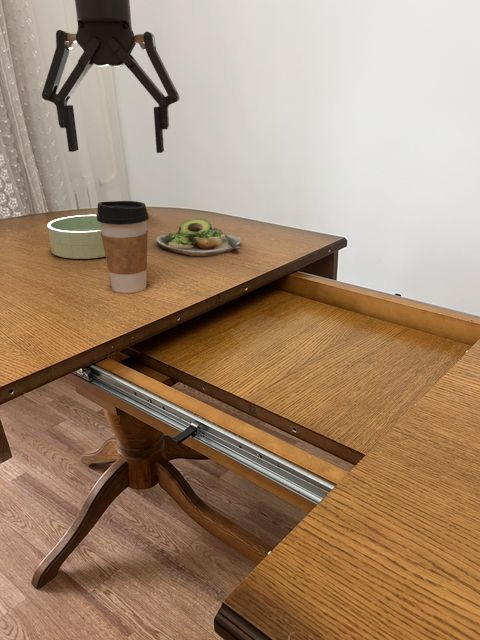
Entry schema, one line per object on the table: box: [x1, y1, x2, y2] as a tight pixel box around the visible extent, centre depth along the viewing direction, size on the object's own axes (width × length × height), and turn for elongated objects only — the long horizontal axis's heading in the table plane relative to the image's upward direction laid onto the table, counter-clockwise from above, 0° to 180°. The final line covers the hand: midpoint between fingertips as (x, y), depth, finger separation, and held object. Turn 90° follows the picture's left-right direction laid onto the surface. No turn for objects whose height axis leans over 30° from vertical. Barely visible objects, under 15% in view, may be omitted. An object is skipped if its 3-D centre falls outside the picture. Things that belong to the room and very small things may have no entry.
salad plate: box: [155, 218, 241, 257], centre depth 120 cm, size 19×18×5 cm
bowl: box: [47, 214, 106, 260], centre depth 115 cm, size 15×15×6 cm
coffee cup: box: [96, 200, 149, 294], centre depth 93 cm, size 8×8×15 cm
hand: (117, 151), depth 86 cm, fingers open, 13 cm apart
